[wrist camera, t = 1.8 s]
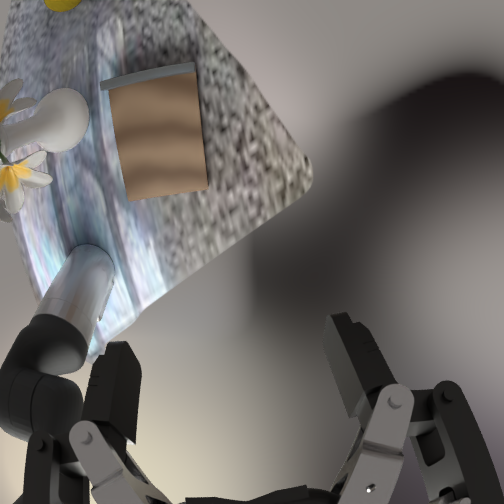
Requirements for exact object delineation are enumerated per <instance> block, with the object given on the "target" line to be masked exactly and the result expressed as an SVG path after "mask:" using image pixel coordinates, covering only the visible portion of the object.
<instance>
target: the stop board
mask: <svg viewBox="0 0 504 504" xmlns="http://www.w3.org/2000/svg"><path fill="white" fill-rule="evenodd" d="M100 88H101V91H102V90H108V91H109V99H110V106H111V113H112V120H113V126H114V132H115V138H116V144H117V149H118V155H119V160H120V165H121V169H122V174H123V179H124V183H125V188H126V192H127V196H128V201H135V200H141V199H147V198H153V197H159V196H165V195H172V194H178V193H185V192H192V191H200V190H207V189H208V178H207V170H206V162H205V153H204V145H203V136H202V127H201V117H200V107H199V97H198V87H197V75H196V65H195V63H194V62H187V63H181V64H174V65H169V66H163V67H158V68H153V69H148V70H144V71H139V72H135V73H131V74H127V75H123V76H119V77H115V78H112V79H108V80H105V81H101V82H100Z"/></svg>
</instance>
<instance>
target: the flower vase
mask: <svg viewBox="0 0 504 504" xmlns="http://www.w3.org/2000/svg"><path fill="white" fill-rule="evenodd" d="M22 85H23V80H22V79H15V80H13V81H11V82H9V83H8V84H6V85H5V86H4V87H3V88H2V90H1V91H0V221H2V222H7V223H8V222H12V221H13V218H12V217H11V215H10V214H9V213H8V212H7V211H6V210H5V208H6V209H7V210H8V211H9V212H10V213H11V214H15V213H17V212H18V211H20V209H21V207H22V205H23V202H24V189H23V186H22V183H23V184H24V185H25V186H26V187H28V188H33V189H35V188H42V187H45V186H47V185H49V184H50V183H51V182H52V180H53V178H52V176H50V175H49V174H47V173H44V172H39V171H36V170H33V169H32V168H35V167H37V166H38V165H40V164H41V163H42V162H43V160H44V159H45V157H46V155H47V152H46V151H49V152H53V153H61V152H66V151H68V150H70V149H72V148H74V147H75V146H76V145H77V144H78V143H79V142H80V141H81V140H82V138H83V137H84V135H85V133H86V131H87V128H88V124H89V108H88V105H87V102H86V100H85V99H84V97H83V96H82V95H81V94H80V93H79V92H77V91H76V90H73V89H71V88H60V89H56V90H53V91H52V92H50V93H49V94H47V95H46V96H44V97H43V99H42V100H41V101H40V102H39V103H38V105H37V107H36V108H35V111H34V114H33V116H32V117H30V118H27V119H24V120H22V121H19V122H16V123H13V124H8V125H3V123H4V121H5V120H6V119H8V118H9V117H11V116H12V115H14V114H16V113H19V112H21V111H23V110H26V109H28V108H30V107H32V106H34V105H35V104H36V102H37V101H36V100H35V99H33V98H27V97H26V98H20V99H17V100H15V101H14V99H15V97H16V96H17V94H18V93H19V91H20V89H21V87H22ZM13 101H14V102H13ZM12 103H13V104H12ZM34 142H37V143H38V145H39V146H40V147H42V148H43V149H44V150H46V151H44V150H40V151H37V152H35V153H33V154H31V155H29V156H27V157H25V158H23V159H21V160H18V161H15V162H12V163H9V162H8V160H7V158H6V157H7V156H8V155H9V154H11V153H12V152H13V151H15V150H17V149H19V148H21V147H23V146H26V145H29V144H31V143H34ZM2 163H3V164H2ZM1 164H2V165H1ZM21 182H22V183H21ZM3 190H4V198H5V201H4V200H3V199H1V198H2V195H3Z"/></svg>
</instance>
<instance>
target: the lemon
mask: <svg viewBox="0 0 504 504" xmlns="http://www.w3.org/2000/svg"><path fill="white" fill-rule="evenodd" d="M44 2H45V4H46V6H47V7H48V8H49V9H51V10H53V11H57V12H64V11H68V10H71V9H72V8H74V7H76V6H77V5H78V4H79V3H80V2H81V0H44Z"/></svg>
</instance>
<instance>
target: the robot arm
mask: <svg viewBox="0 0 504 504" xmlns="http://www.w3.org/2000/svg"><path fill="white" fill-rule="evenodd" d="M114 272H115V270H114V265H113V262H112V260H111V258H110V257H109V256H108V254H107V253H106V252H105V251H103V250H102V249H100V248H99V247H97V246H94V245H90V244H82V245H79V246H77V247H75V248H74V249H73V250H72V252H71V253H70V255H69V256H68V258H67V259H66V261H65V262H64V264H63V265H62V267H61V269H60V270H59V272H58V273H57V275H56V277H55V278H54V280H53V282H52V283H51V285H50V287H49V289H48V290H47V292H46V294H45V296H44V297H43V299H42V301H41V303H40V305H39V307H38V309H37V311H36V312H35V314H34V316H33V318H32V320H31V322H30V324H29V325H28V326H26V327H25V328H24V329H22V330H21V332H20V333H19V335H18V336H17V338H16V340H15V342H14V344H13V345H12V348H11V349H10V351H9V353H8V355H7V357H6V359H5V361H4V362H3V364H2V367H1V369H0V427H1V428H2V429H3V430H4V431H5V432H6V433H8V434H10V435H12V436H14V437H16V438H19V439H21V440H24V441H26V442H28V447H27V455H26V463H25V473H24V487H23V494H22V495H21V496H20V497H19V498H18V499H17V500H16V501H15V502H14V503H13V504H90V497H89V495H90V494H89V480H90V481H91V483H92V486H93V488H92V489H91V494H92V496H93V498H94V499H95V501H96V503H97V504H172V503H171V502H170V501H169V499H168V498H167V497H166V496H165V495H164V494H163V493H162V492H161V491H159V490H158V489H157V488H156V487H155V486H154V485H153V484H152V483H151V482H150V480H149V479H148V478H147V477H146V475H145V474H144V473H143V471H142V470H141V469H140V467H139V466H138V465H137V463H136V462H135V461H134V459H133V458H132V456H131V455H130V454H129V452H128V451H127V450H126V445H127V444H133V445H134V444H136V429H137V417H138V416H137V415H138V405H139V394H140V386H141V378H142V371H141V366H140V363H139V361H138V360H137V358H136V356H135V354H134V353H133V351H132V349H131V347H130V346H129V344H128V343H127V342H126V341H117V342H109V343H108V344H107V347H106V351H105V355H99V356H98V358H97V359H96V361H95V362H94V364H93V366H92V370H91V374H90V379H89V382H88V387H87V392H86V396H85V401H84V402H83V397H82V393H81V391H80V388H79V387H78V386H77V384H75V383H74V382H73V381H71V380H68V379H66V378H63V377H59V376H58V375H62V374H68V373H72V372H75V371H77V370H79V369H80V368H81V367H82V366H83V364H84V362H85V359H86V356H87V352H88V349H89V346H90V342H91V339H92V336H93V333H94V329H95V326H96V323H97V322H99V321H101V319H102V316H103V313H104V310H105V307H106V304H107V301H108V299H109V296H110V293H111V290H112V288H113V285H114V284H113V281H112V280H113V277H114ZM323 346H324V351H325V354H326V357H327V360H328V362H329V365H330V368H331V370H332V373H333V375H334V378H335V381H336V384H337V386H338V389H339V392H340V394H341V397H342V400H343V403H344V405H345V408H346V411H347V413H348V416H349V418H352V417H356V416H358V419H359V422H360V424H361V425H360V427H359V430H358V432H357V435H356V437H355V440H354V442H353V445H352V447H351V450H350V452H349V454H348V457H347V459H346V461H345V463H344V465H343V466H342V468H341V470H340V471H339V473H338V475H337V477H336V479H335V481H334V483H333V485H332V487H331V489H330V491H326V490H322V489H314V488H307V486H306V485H303V486H298V487H294V488H288V489H283V490H277V491H274V492H271V493H269V494H266V495H264V496H261V497H258V498H256V499H253V500H250V501H237V500H229V499H223V498H217V497H203V498H202V497H201V498H200V497H197V498H185V500H186V502H182V503H179V504H388V502H389V500H390V497H391V494H392V492H393V490H394V487H395V484H396V482H397V479H398V476H399V473H400V470H401V467H402V464H403V459H404V455H403V454H402V448H403V444H404V441H405V437H408V436H409V437H410V439H411V442H412V445H413V448H414V451H415V454H416V457H417V460H418V463H419V466H420V470H421V473H422V476H423V479H424V483H425V486H426V489H427V493H428V497H429V500H430V502H429V503H428V504H504V496H503V493H502V489H501V487H500V483H499V480H498V477H497V474H496V471H495V468H494V465H493V462H492V459H491V457H490V454H489V451H488V449H487V446H486V443H485V441H484V439H483V436H482V434H481V431H480V429H479V427H478V424H477V422H476V420H475V418H474V415H473V413H472V411H471V409H470V406H469V404H468V402H467V400H466V398H465V396H464V394H463V392H462V390H461V388H460V387H459V386H458V385H457V384H456V383H454V382H452V381H442V382H440V383H439V384H437V385H436V386H435V388H434V389H429V390H409V389H408V388H407V387H405V386H403V385H401V384H398V383H397V382H396V380H395V378H394V377H393V375H392V373H391V371H390V369H389V367H388V365H387V363H386V361H385V359H384V357H383V355H382V353H381V351H380V350H379V347H378V346H377V344H376V342H375V340H374V338H373V336H372V334H371V333H370V331H369V330H368V328H366V327H365V326H364V325H363V324H361V323H360V322H357V323H352V321H351V319H350V317H349V315H348V313H347V312H342V313H337V314H331V315H328V316H327V318H326V325H325V331H324V336H323Z"/></svg>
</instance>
